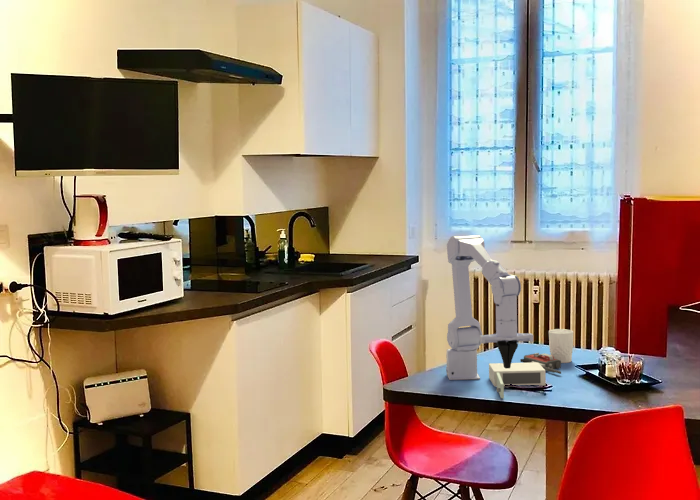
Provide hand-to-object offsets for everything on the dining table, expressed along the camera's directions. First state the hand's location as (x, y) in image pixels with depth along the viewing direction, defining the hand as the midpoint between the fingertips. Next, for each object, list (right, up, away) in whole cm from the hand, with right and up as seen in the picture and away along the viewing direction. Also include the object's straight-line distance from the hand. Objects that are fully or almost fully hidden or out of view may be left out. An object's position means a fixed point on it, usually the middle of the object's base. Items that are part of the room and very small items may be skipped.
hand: (507, 367), depth 212 cm
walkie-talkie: (+19, -6, +32) cm, 38 cm away
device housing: (+6, -7, +17) cm, 19 cm away
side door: (-1, -8, +5) cm, 9 cm away
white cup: (+27, -4, +41) cm, 49 cm away
